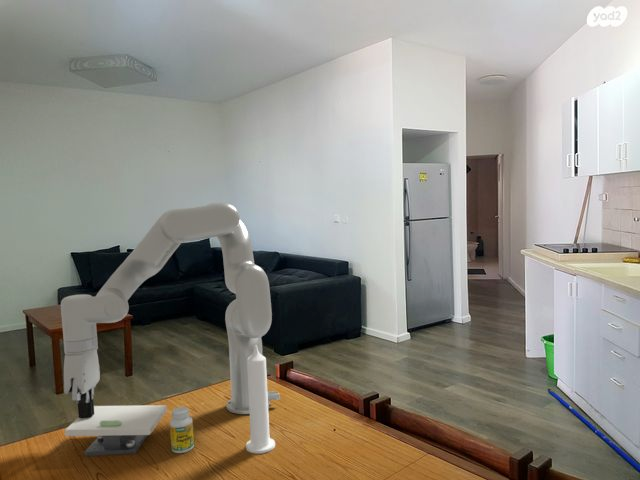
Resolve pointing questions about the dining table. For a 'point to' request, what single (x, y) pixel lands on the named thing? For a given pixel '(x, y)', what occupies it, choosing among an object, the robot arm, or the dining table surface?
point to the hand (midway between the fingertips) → (86, 416)
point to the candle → (258, 405)
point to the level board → (118, 421)
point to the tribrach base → (115, 445)
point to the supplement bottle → (181, 430)
